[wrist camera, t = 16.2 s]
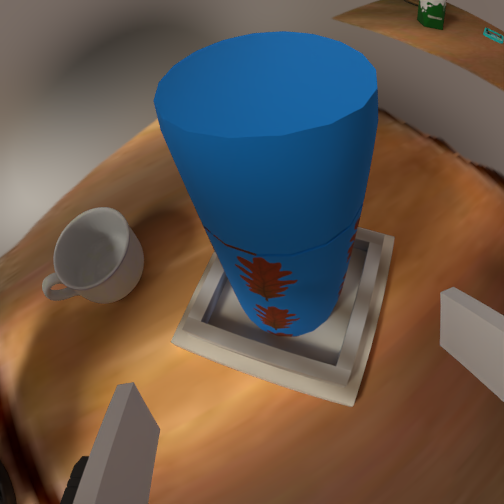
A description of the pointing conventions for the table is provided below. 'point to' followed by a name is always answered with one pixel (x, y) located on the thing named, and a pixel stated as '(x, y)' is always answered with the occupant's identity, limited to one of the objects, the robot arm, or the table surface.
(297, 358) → the grey square tray
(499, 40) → the handheld gaming console
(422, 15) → the milk carton
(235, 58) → the thermos
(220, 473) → the table surface
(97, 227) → the teacup
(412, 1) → the owl figurine
